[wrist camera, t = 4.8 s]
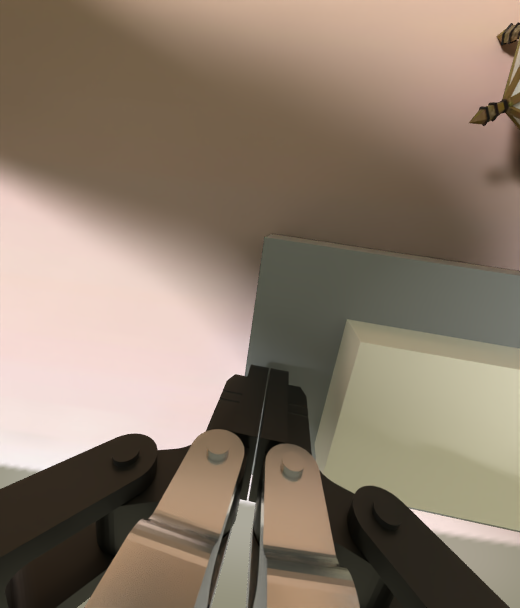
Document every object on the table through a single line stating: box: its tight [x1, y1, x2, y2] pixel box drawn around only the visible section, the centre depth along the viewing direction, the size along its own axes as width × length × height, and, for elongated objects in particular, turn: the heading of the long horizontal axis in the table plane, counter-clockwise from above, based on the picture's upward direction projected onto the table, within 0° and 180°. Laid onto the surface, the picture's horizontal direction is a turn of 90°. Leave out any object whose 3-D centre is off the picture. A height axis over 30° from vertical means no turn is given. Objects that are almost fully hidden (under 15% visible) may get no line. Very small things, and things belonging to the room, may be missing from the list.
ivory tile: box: [314, 319, 520, 531], centre depth 9 cm, size 6×9×2 cm, turn 82°
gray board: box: [245, 234, 520, 532], centre depth 12 cm, size 11×14×4 cm
